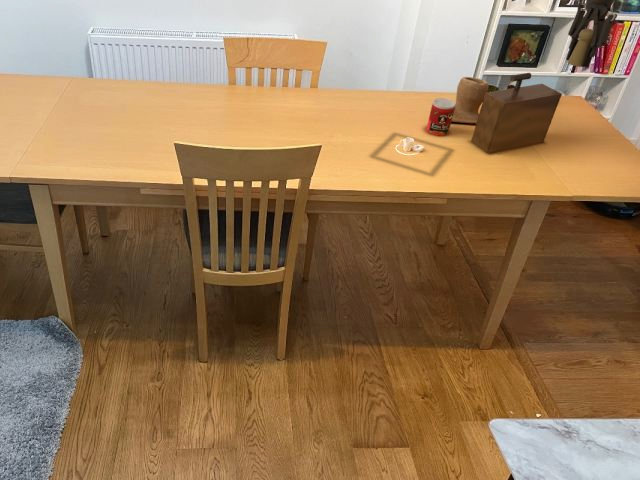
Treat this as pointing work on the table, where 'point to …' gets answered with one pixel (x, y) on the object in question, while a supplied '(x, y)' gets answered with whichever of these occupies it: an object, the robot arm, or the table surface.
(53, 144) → the table surface
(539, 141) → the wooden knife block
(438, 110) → the canned food
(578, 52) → the cork
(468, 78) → the tan brown vase
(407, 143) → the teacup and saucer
